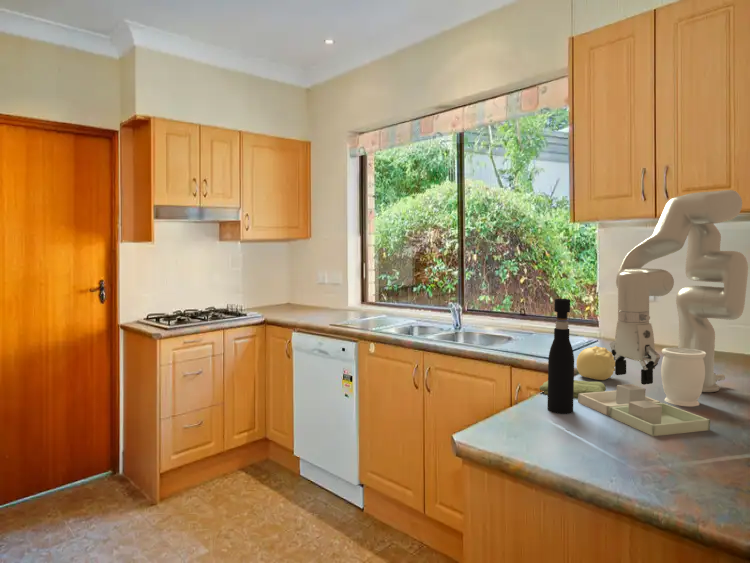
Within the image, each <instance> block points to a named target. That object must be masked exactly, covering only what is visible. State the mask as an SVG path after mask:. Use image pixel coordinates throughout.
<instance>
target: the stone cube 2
mask: <svg viewBox="0 0 750 563" xmlns="http://www.w3.org/2000/svg"><path fill="white" fill-rule="evenodd" d="M628 414H630V415H632V416H634V417H637V418H639V419H641V420H644V421H646V422H648V423H651V424H653V425H655V424H661V416H662V406H659V405H657V404H654V403H651V402H649V401H634V402H629V411H628Z"/></svg>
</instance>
